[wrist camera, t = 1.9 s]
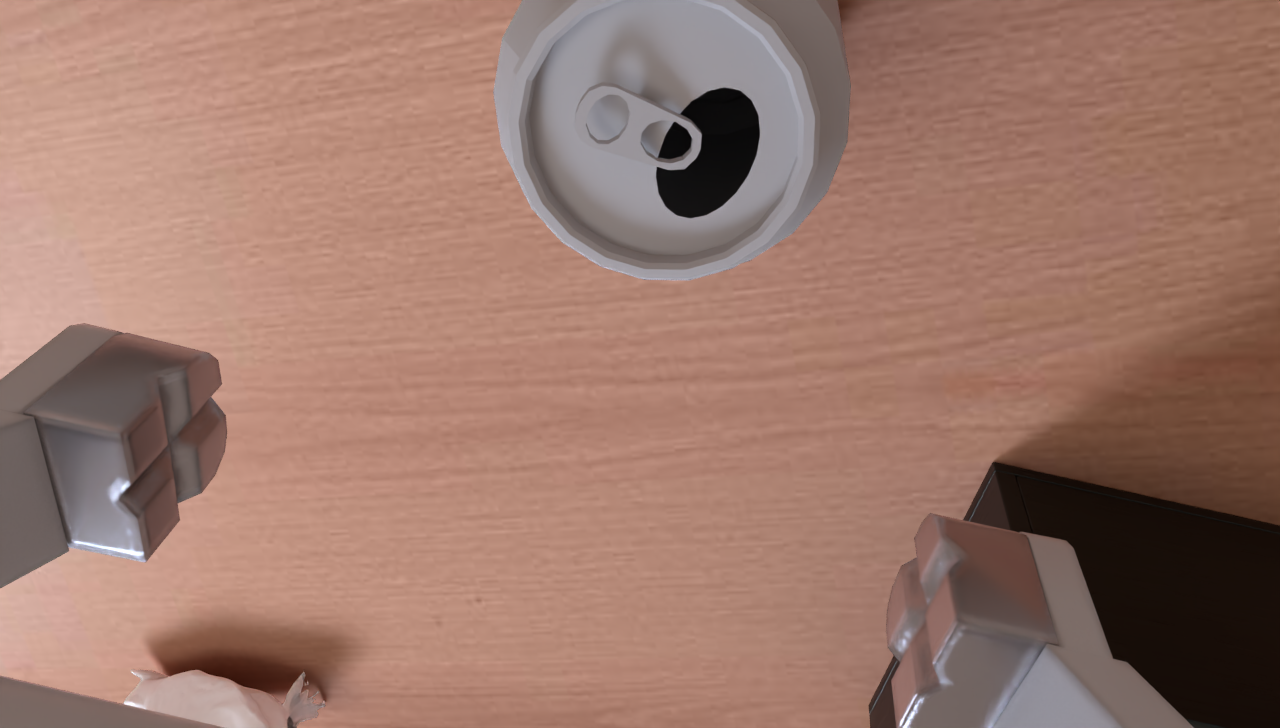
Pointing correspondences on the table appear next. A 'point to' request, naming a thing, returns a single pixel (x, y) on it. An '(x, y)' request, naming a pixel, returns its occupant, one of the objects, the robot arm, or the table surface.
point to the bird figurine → (221, 700)
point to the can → (673, 125)
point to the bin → (1157, 591)
